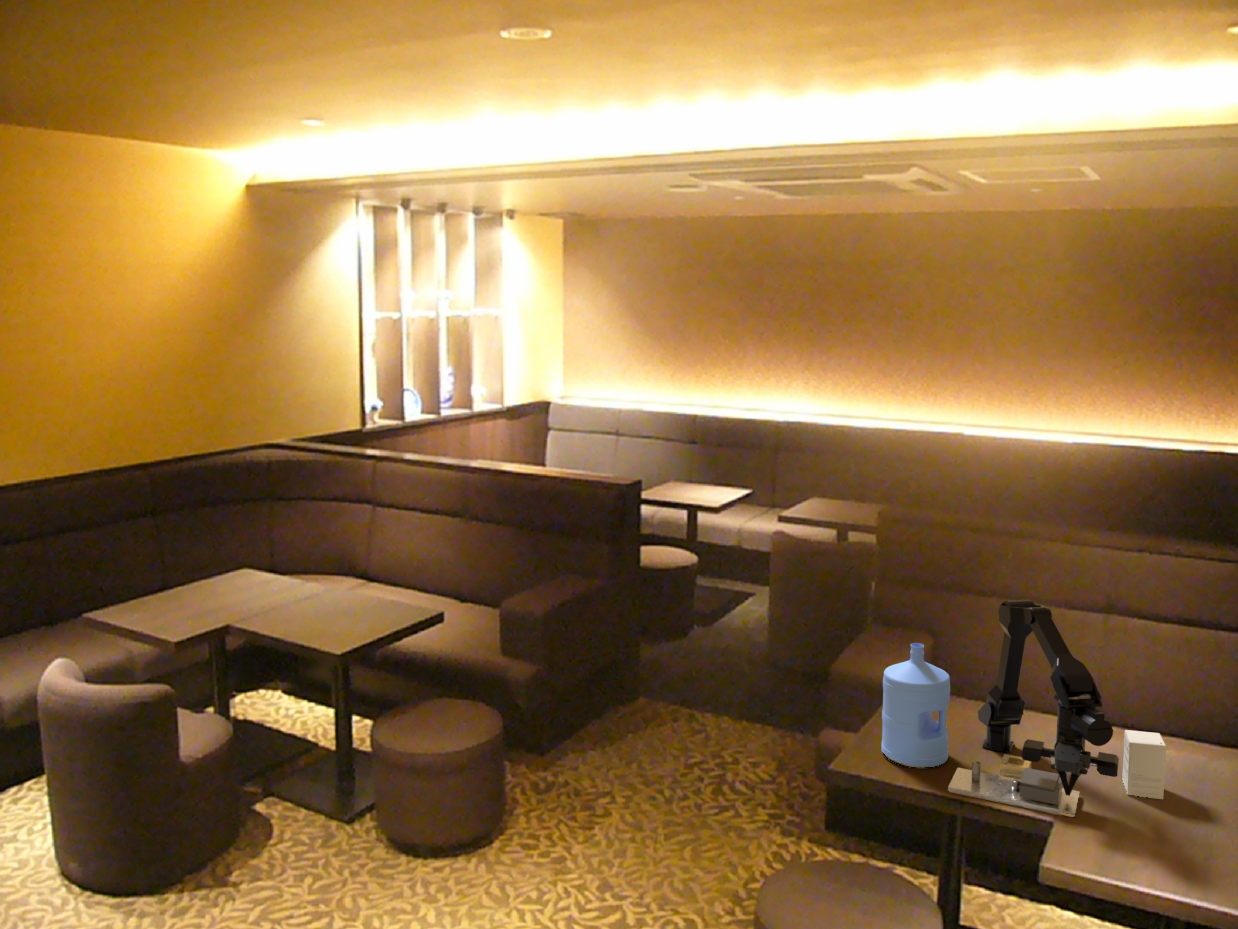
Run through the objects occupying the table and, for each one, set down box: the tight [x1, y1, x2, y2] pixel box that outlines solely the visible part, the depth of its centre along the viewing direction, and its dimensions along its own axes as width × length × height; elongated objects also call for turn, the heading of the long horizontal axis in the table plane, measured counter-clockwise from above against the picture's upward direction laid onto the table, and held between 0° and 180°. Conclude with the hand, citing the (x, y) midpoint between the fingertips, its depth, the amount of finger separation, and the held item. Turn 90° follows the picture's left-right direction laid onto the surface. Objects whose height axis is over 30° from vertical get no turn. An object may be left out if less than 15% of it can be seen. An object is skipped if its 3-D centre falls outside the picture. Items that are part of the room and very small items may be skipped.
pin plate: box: [947, 760, 1081, 816], centre depth 219 cm, size 11×26×6 cm, turn 61°
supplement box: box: [1121, 729, 1167, 800], centre depth 219 cm, size 7×7×13 cm
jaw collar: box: [999, 753, 1033, 780], centre depth 229 cm, size 6×6×3 cm
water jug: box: [881, 642, 951, 768], centre depth 238 cm, size 16×16×28 cm
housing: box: [1019, 768, 1063, 805], centre depth 216 cm, size 8×8×4 cm
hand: (1067, 794), depth 214 cm, fingers closed
